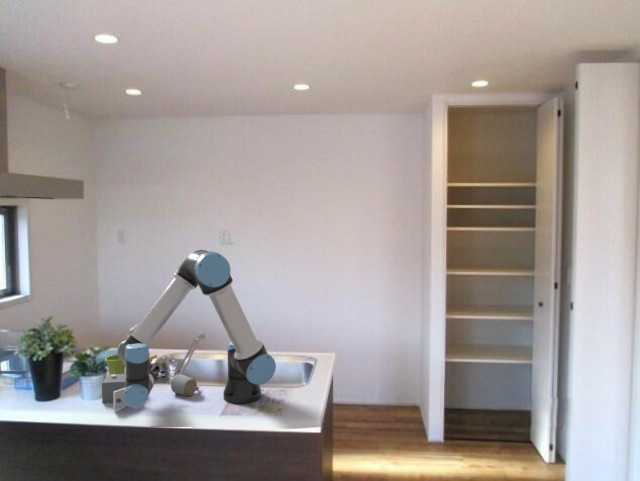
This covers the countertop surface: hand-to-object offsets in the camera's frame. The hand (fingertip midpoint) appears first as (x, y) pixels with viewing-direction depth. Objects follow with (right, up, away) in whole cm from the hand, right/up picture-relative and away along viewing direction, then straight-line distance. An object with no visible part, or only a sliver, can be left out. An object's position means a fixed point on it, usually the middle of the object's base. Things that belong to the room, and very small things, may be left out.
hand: (155, 361), depth 202 cm
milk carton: (-24, -12, +45) cm, 52 cm away
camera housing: (-14, -14, 0) cm, 20 cm away
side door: (-5, -15, -5) cm, 16 cm away
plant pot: (-26, -13, +25) cm, 38 cm away
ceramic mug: (+11, -14, +5) cm, 19 cm away
